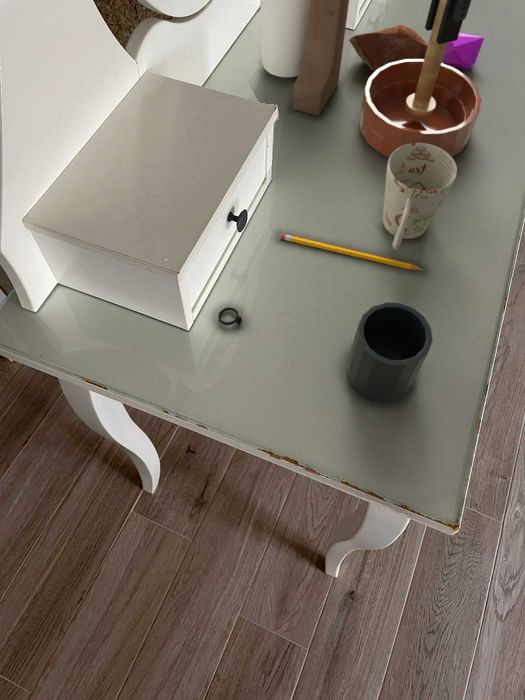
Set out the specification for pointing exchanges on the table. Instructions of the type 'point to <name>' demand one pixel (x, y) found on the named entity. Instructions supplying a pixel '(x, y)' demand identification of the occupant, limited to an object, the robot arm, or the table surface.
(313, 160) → the table surface
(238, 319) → the ring
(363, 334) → the utensil pot
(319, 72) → the wooden block
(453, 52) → the crystal
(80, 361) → the table surface
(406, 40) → the fossil
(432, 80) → the stirring stick
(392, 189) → the mug
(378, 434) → the table surface
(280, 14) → the cup
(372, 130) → the bowl
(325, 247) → the pencil
